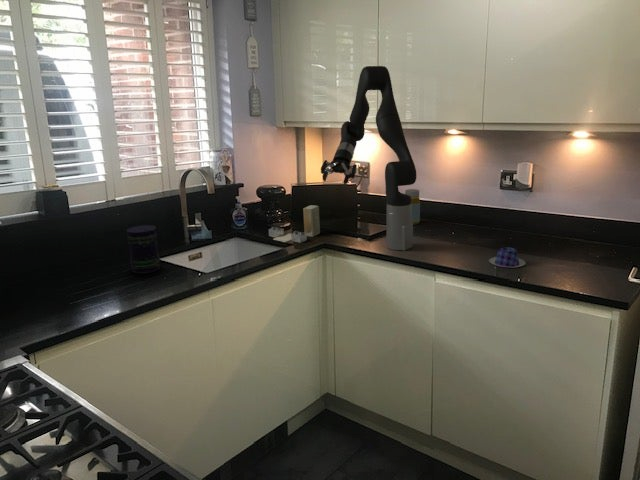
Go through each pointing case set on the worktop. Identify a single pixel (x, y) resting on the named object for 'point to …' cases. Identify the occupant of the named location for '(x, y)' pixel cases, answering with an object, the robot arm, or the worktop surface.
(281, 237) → the seat pad
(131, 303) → the worktop surface
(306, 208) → the skincare box
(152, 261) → the storage jar
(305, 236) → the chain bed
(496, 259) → the blue plaid hat
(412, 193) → the bottle
